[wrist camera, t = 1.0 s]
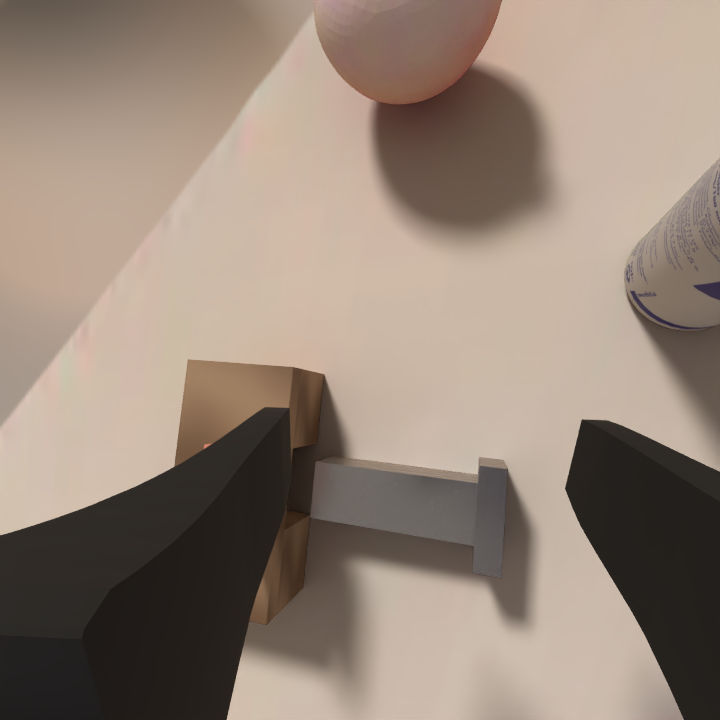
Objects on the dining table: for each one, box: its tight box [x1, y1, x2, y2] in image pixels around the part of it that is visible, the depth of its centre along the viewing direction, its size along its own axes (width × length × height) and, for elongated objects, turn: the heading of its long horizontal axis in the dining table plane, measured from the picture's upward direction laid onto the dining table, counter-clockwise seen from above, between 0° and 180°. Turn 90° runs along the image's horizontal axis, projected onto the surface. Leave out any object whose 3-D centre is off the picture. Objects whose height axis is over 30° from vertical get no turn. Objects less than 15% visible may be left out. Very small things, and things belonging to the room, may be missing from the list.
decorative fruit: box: [313, 0, 502, 104], centre depth 21 cm, size 9×8×10 cm
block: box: [174, 360, 324, 625], centre depth 23 cm, size 12×6×5 cm, turn 175°
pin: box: [310, 456, 508, 578], centre depth 22 cm, size 5×9×4 cm, turn 84°
